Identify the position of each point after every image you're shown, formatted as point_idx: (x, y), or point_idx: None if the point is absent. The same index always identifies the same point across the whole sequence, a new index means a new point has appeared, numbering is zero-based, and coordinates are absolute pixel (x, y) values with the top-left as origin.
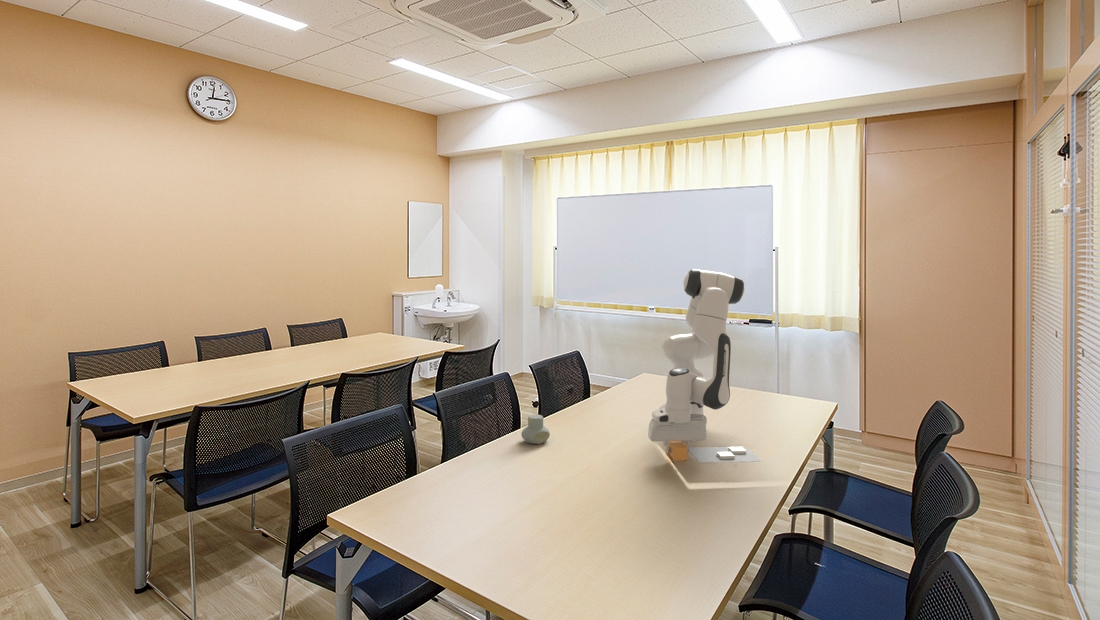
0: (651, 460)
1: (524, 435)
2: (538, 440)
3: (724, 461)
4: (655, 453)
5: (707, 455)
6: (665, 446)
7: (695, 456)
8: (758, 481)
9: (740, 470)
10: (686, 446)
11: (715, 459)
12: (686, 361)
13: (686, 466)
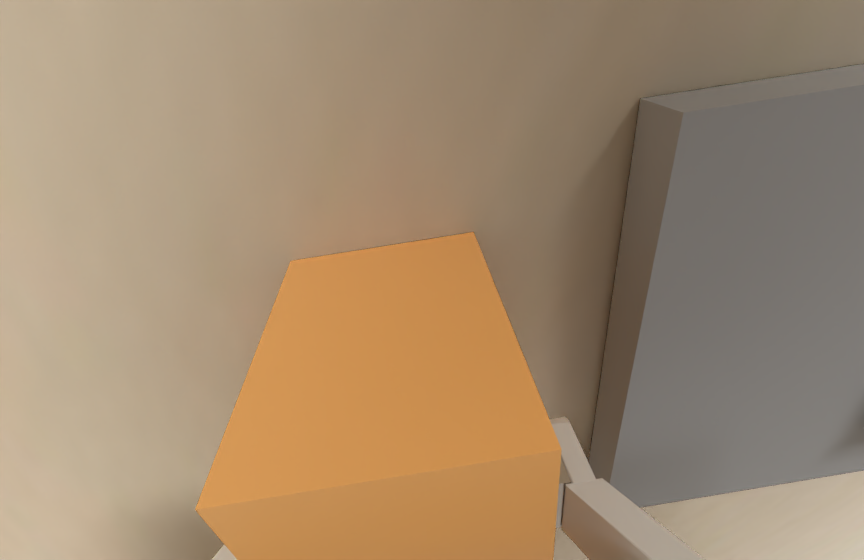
0: (118, 430)
1: None
2: None
3: (846, 465)
4: (103, 229)
5: (795, 374)
6: (224, 548)
7: (634, 415)
8: (829, 555)
9: (859, 474)
10: (581, 537)
11: (799, 445)
12: None
13: None
